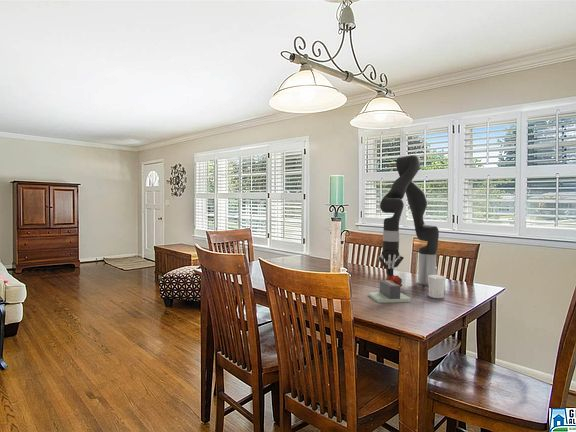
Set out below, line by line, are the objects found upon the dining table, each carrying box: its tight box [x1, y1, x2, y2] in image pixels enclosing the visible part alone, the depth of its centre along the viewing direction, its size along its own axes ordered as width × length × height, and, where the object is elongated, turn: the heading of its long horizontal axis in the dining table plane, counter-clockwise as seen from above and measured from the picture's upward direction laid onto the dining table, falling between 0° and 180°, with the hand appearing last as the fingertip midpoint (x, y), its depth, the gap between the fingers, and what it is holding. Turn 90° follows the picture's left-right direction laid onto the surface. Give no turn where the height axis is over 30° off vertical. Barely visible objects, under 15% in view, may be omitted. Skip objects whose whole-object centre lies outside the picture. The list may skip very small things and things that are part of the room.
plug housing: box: [379, 279, 401, 299], centre depth 174 cm, size 5×12×6 cm, turn 8°
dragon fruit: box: [385, 274, 403, 288], centre depth 190 cm, size 8×8×12 cm
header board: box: [368, 291, 412, 304], centre depth 174 cm, size 16×12×4 cm
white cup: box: [427, 274, 447, 299], centre depth 178 cm, size 8×8×10 cm
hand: (389, 275), depth 173 cm, fingers closed
